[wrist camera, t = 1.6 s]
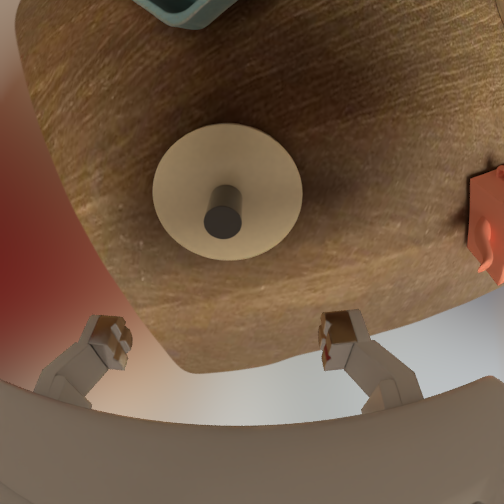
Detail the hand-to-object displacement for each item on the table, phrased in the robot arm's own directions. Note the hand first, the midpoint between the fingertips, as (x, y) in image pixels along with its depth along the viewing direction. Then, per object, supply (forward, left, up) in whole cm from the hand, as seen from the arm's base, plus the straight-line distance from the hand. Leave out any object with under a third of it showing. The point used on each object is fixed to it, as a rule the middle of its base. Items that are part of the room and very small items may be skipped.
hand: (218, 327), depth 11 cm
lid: (0, 0, -12) cm, 12 cm away
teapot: (+24, +12, -13) cm, 29 cm away
